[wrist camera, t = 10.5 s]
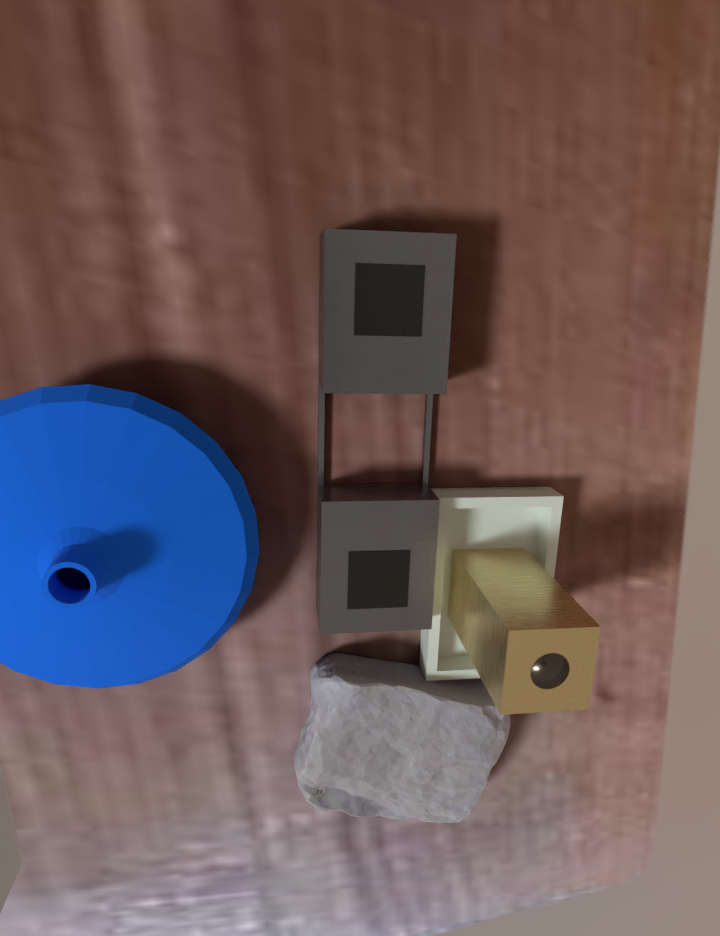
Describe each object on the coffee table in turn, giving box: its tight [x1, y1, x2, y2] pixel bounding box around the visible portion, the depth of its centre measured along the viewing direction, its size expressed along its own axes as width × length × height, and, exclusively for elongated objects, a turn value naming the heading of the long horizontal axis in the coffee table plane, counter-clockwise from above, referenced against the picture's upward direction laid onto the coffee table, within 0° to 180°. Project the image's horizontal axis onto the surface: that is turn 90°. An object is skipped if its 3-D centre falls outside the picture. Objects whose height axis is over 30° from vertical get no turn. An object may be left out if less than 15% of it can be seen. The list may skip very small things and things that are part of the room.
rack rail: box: [316, 229, 457, 634], centre depth 33 cm, size 20×6×3 cm, turn 178°
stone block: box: [294, 653, 511, 823], centre depth 38 cm, size 12×5×10 cm
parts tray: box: [419, 486, 564, 681], centre depth 36 cm, size 11×7×2 cm, turn 179°
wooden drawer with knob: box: [448, 548, 601, 715], centre depth 33 cm, size 4×4×9 cm
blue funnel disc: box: [0, 384, 260, 688], centre depth 30 cm, size 16×16×7 cm
